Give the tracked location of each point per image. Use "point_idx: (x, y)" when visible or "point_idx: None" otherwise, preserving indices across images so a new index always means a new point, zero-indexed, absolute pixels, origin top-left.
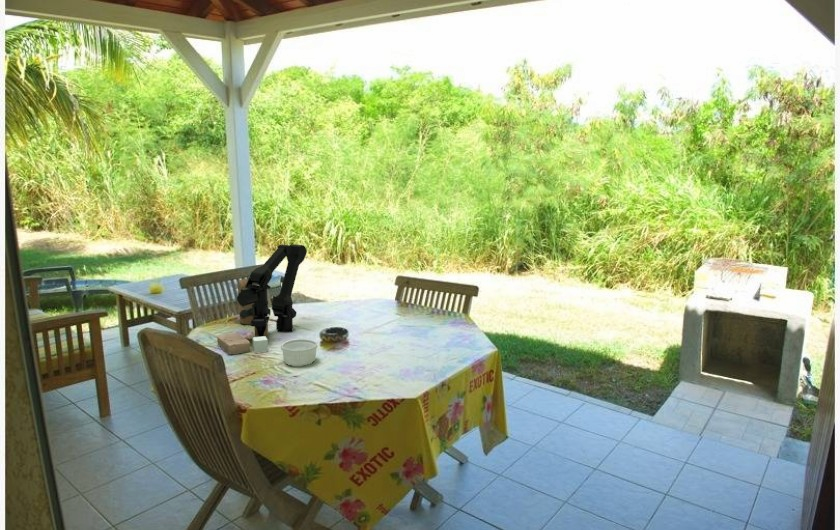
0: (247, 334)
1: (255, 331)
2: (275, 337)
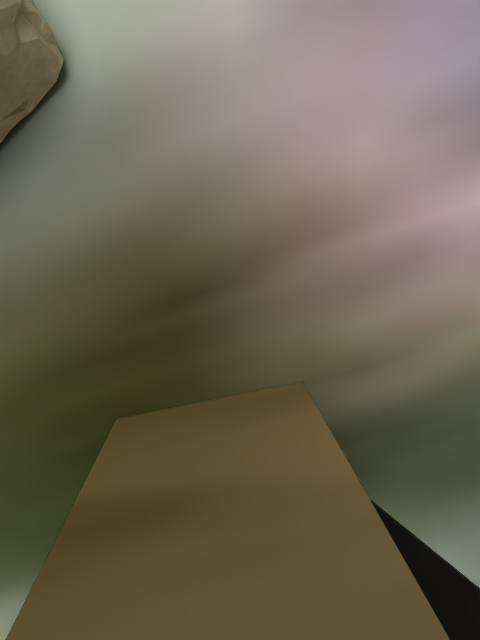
0: (470, 182)
1: (36, 617)
2: None
